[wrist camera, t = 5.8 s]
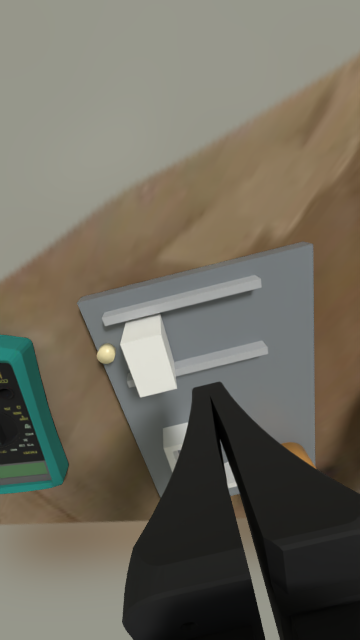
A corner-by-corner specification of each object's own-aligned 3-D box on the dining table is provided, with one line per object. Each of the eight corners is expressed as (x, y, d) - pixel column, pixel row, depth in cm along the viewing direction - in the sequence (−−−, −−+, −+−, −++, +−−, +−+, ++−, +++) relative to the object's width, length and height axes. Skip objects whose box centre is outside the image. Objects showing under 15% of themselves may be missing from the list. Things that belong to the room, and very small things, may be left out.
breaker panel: (303, 241, 18) (332, 248, 15) (309, 465, 28) (326, 495, 25) (81, 297, 18) (67, 314, 15) (165, 499, 28) (166, 533, 25)
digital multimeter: (32, 327, 19) (12, 347, 16) (72, 463, 25) (62, 494, 23) (-72, 333, 19) (-110, 355, 16) (-6, 470, 25) (-26, 502, 22)
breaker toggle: (160, 312, 17) (160, 334, 15) (173, 360, 19) (176, 388, 16) (125, 321, 17) (120, 344, 15) (142, 368, 19) (140, 397, 16)
